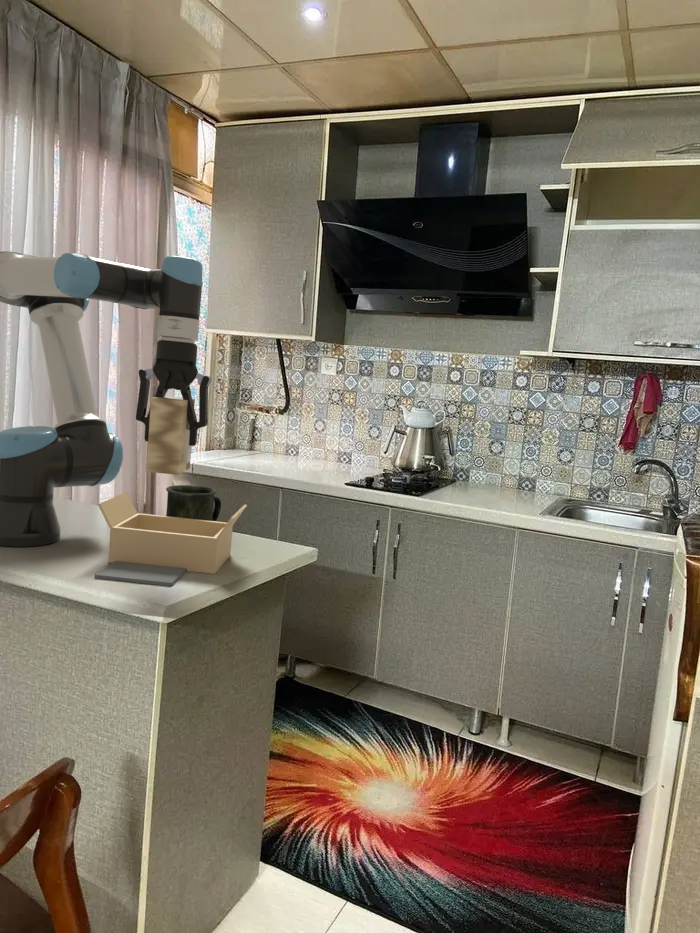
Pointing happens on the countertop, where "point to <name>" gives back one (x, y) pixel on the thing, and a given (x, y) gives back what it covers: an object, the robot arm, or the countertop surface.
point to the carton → (166, 538)
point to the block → (167, 435)
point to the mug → (192, 502)
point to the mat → (141, 573)
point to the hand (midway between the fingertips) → (169, 460)
